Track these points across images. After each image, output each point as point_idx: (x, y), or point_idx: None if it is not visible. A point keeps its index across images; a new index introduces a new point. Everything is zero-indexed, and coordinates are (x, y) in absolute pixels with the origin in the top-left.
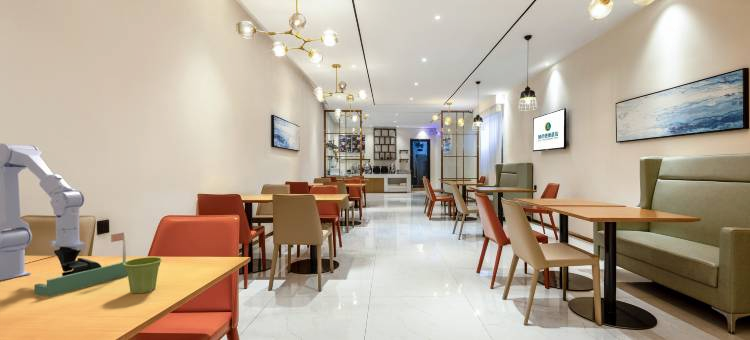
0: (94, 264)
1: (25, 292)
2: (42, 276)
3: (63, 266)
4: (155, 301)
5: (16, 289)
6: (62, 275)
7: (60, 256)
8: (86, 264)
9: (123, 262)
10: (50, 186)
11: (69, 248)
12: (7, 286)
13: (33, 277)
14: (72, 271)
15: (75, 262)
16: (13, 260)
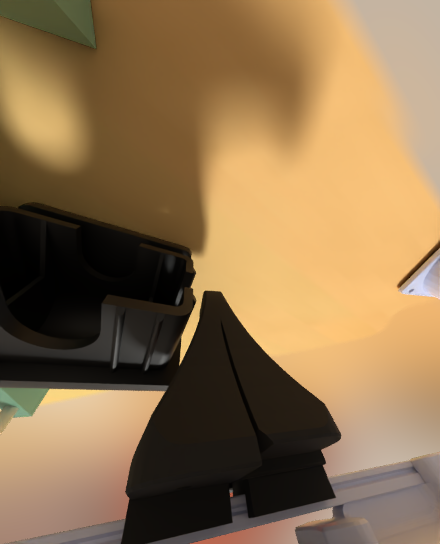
0: None
1: (199, 25)
2: (343, 284)
3: (183, 300)
4: None
5: (321, 96)
6: (187, 263)
7: (229, 371)
8: None
9: (5, 406)
10: None
11: (123, 536)
12: (406, 146)
13: (367, 270)
14: (175, 302)
15: (99, 345)
16: None
